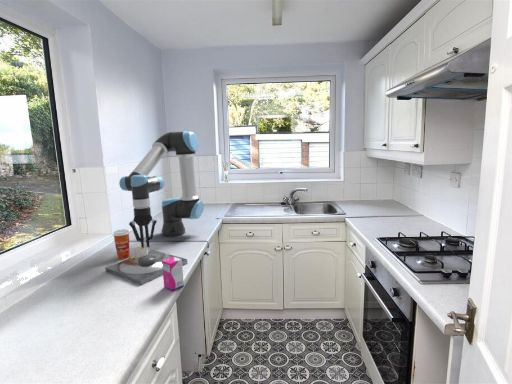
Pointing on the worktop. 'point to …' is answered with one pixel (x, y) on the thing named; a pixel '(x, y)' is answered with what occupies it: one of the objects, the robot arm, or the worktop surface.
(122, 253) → the paper cup
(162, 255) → the panel
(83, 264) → the worktop surface
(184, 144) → the robot arm
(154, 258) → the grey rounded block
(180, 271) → the supplement box
